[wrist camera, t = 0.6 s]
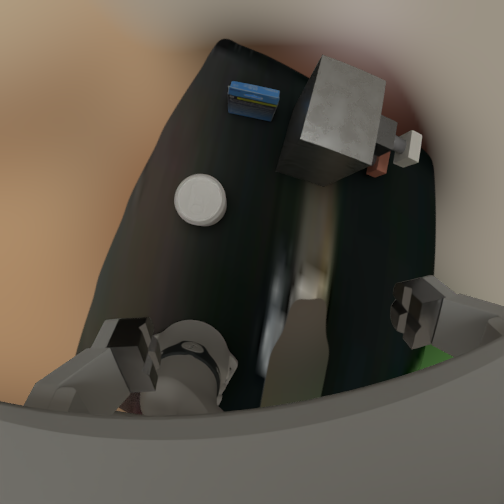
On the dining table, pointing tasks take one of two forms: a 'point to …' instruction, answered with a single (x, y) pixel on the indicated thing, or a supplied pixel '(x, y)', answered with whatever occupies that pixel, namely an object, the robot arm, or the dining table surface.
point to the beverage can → (200, 200)
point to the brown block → (378, 165)
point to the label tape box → (252, 100)
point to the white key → (407, 148)
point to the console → (336, 125)
